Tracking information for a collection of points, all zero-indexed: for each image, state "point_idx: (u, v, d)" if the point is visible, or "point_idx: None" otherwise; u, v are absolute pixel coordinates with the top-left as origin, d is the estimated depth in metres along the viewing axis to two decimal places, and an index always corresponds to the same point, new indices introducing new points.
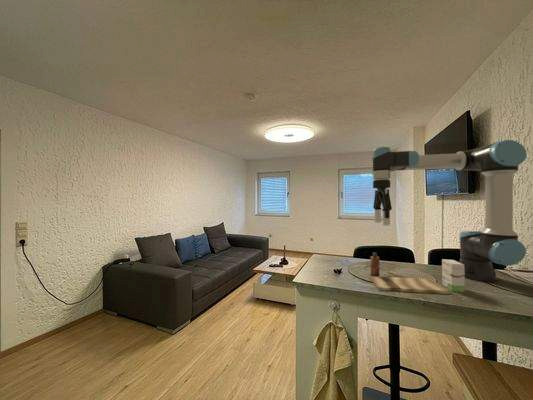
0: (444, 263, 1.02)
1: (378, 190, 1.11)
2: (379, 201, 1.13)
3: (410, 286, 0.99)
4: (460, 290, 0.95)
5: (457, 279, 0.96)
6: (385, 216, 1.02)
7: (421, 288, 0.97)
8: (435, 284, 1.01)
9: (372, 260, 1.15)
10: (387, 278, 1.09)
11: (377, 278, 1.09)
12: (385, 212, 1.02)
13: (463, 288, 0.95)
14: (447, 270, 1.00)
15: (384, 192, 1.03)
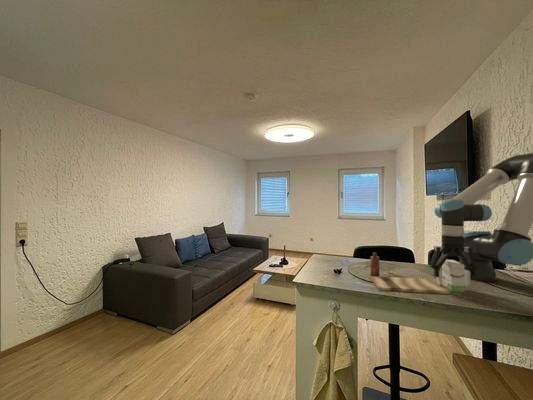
0: (444, 263, 1.02)
1: None
2: (461, 259, 0.99)
3: (410, 286, 0.99)
4: (460, 290, 0.95)
5: (457, 279, 0.96)
6: None
7: (421, 288, 0.97)
8: (435, 284, 1.01)
9: (372, 260, 1.15)
10: (387, 278, 1.09)
11: (377, 278, 1.09)
12: None
13: (463, 288, 0.95)
14: (447, 270, 1.00)
15: (434, 249, 1.02)
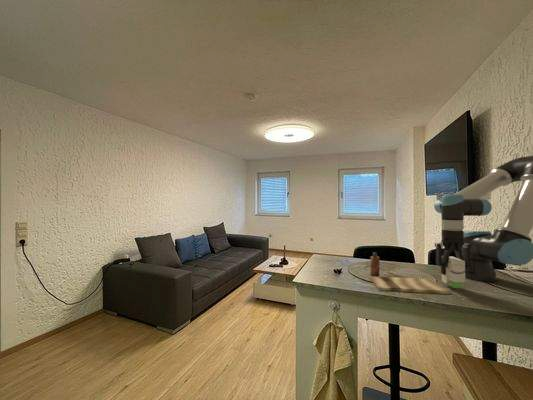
0: None
1: None
2: (457, 254, 0.99)
3: (410, 286, 0.99)
4: (461, 286, 0.95)
5: (458, 276, 0.96)
6: None
7: (421, 288, 0.97)
8: (435, 284, 1.01)
9: (372, 260, 1.15)
10: (387, 278, 1.09)
11: (377, 278, 1.09)
12: None
13: (464, 284, 0.95)
14: (447, 267, 1.00)
15: (435, 246, 1.02)
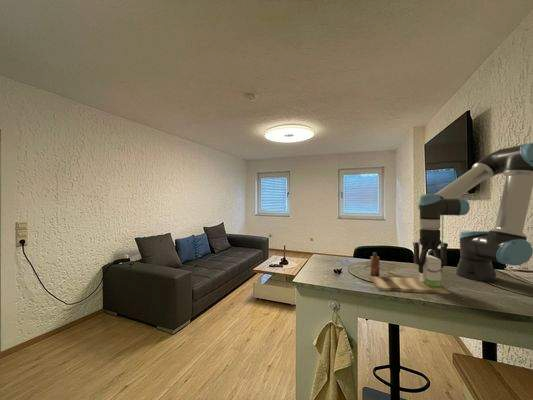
0: None
1: None
2: (434, 253, 1.01)
3: (410, 286, 0.99)
4: (437, 285, 0.97)
5: (434, 274, 0.97)
6: None
7: (421, 288, 0.97)
8: None
9: (372, 260, 1.15)
10: (387, 278, 1.09)
11: (377, 278, 1.09)
12: None
13: (439, 283, 0.97)
14: None
15: (413, 245, 1.03)
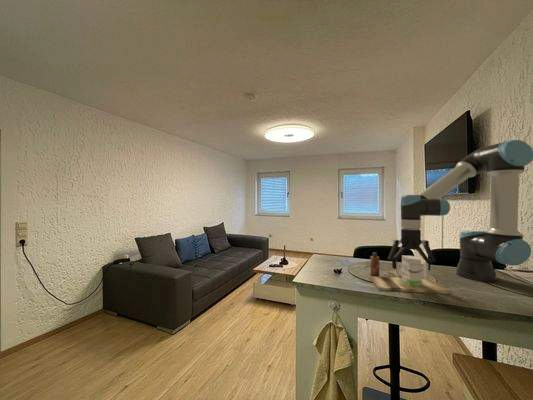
0: (403, 259, 1.05)
1: None
2: (419, 252, 1.02)
3: (410, 286, 0.99)
4: (417, 285, 0.98)
5: (414, 275, 0.98)
6: None
7: (421, 288, 0.97)
8: (435, 284, 1.01)
9: (372, 260, 1.15)
10: (387, 278, 1.09)
11: (377, 278, 1.09)
12: None
13: (420, 283, 0.98)
14: (405, 266, 1.02)
15: (393, 242, 1.04)
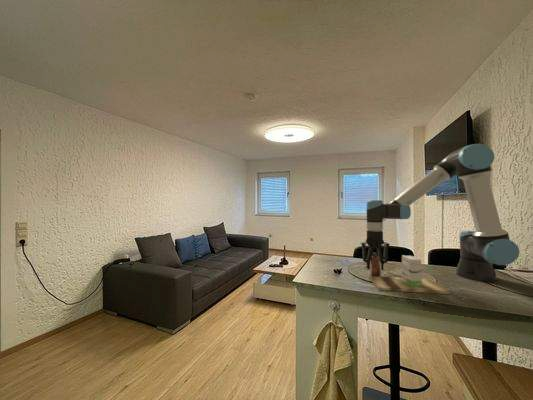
0: (403, 259, 1.05)
1: None
2: (378, 252, 1.15)
3: (410, 286, 0.99)
4: (417, 285, 0.98)
5: (414, 275, 0.98)
6: None
7: (421, 288, 0.97)
8: (435, 284, 1.01)
9: (372, 260, 1.15)
10: (387, 278, 1.09)
11: (377, 278, 1.09)
12: None
13: (420, 283, 0.98)
14: (405, 266, 1.02)
15: None
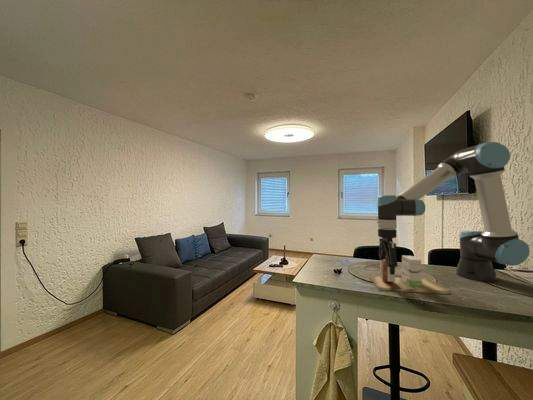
0: (403, 259, 1.05)
1: (383, 238, 1.06)
2: (385, 250, 1.07)
3: (410, 286, 0.99)
4: (417, 285, 0.98)
5: (414, 275, 0.98)
6: (390, 272, 0.98)
7: (421, 288, 0.97)
8: (435, 284, 1.01)
9: None
10: None
11: (377, 278, 1.09)
12: (390, 268, 0.98)
13: (420, 283, 0.98)
14: (405, 266, 1.02)
15: (391, 247, 0.98)
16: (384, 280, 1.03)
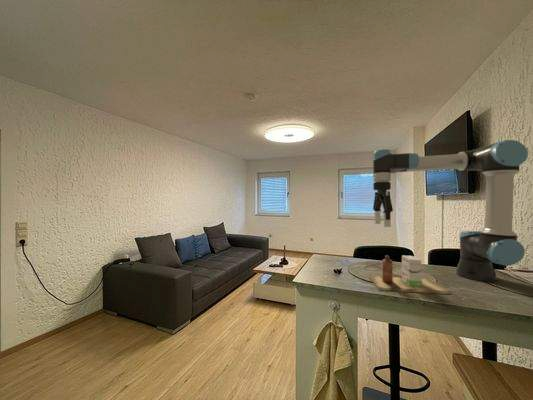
0: (403, 259, 1.05)
1: (378, 192, 1.12)
2: (379, 203, 1.14)
3: (410, 286, 0.99)
4: (417, 285, 0.98)
5: (414, 275, 0.98)
6: (386, 218, 1.03)
7: (421, 288, 0.97)
8: (435, 284, 1.01)
9: (391, 265, 1.02)
10: None
11: (377, 278, 1.09)
12: (386, 214, 1.03)
13: (420, 283, 0.98)
14: (405, 266, 1.02)
15: (385, 194, 1.04)
16: (384, 280, 1.03)
